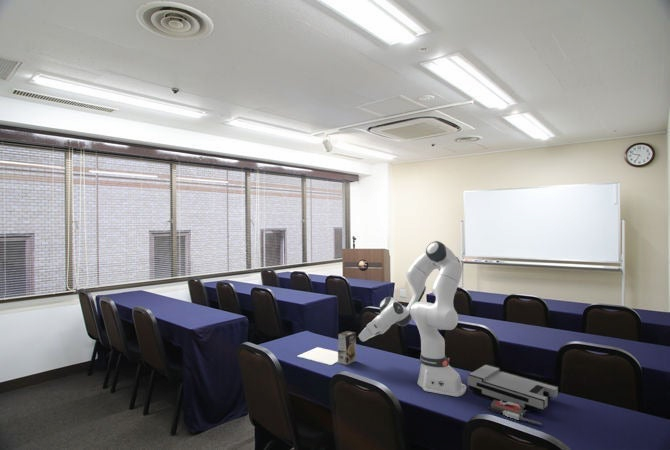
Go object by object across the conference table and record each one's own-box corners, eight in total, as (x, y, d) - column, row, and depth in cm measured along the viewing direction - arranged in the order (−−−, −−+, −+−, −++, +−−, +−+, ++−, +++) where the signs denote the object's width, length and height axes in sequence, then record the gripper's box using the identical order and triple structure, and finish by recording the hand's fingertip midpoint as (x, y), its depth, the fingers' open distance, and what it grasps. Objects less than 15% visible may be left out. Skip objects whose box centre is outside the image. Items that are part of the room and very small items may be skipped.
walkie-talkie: (486, 412, 152) (541, 429, 140) (486, 402, 152) (541, 417, 140) (491, 405, 159) (544, 419, 147) (491, 394, 159) (544, 408, 147)
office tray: (543, 418, 148) (543, 398, 148) (467, 392, 171) (467, 374, 171) (558, 402, 163) (558, 383, 163) (486, 380, 186) (486, 364, 186)
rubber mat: (350, 355, 219) (350, 354, 219) (331, 365, 202) (331, 364, 202) (317, 347, 232) (317, 347, 232) (297, 356, 215) (297, 355, 215)
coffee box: (346, 365, 203) (347, 335, 203) (337, 362, 206) (337, 333, 207) (356, 360, 210) (356, 332, 210) (346, 358, 214) (347, 330, 214)
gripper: (385, 316, 209) (370, 331, 214) (366, 324, 192) (350, 339, 198) (392, 326, 206) (376, 340, 212) (373, 334, 189) (357, 349, 195)
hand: (363, 339), depth 205 cm, fingers closed
